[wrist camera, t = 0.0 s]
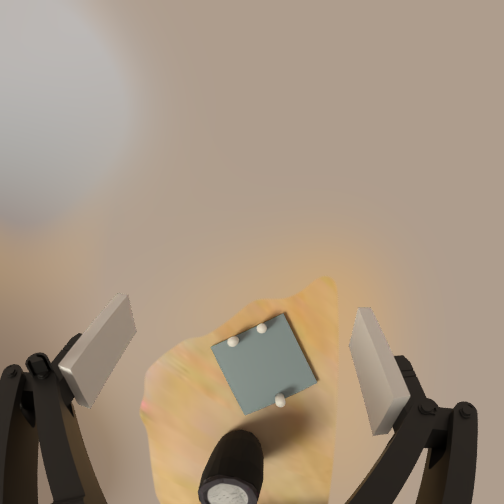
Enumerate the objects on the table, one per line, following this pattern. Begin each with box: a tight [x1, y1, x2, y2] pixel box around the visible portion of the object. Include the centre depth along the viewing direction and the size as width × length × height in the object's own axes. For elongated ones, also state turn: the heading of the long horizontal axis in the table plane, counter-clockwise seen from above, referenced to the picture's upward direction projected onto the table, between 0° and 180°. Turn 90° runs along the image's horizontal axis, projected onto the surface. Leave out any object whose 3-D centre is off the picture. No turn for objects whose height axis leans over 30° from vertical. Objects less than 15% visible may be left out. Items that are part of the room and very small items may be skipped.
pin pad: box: [211, 314, 317, 415], centre depth 46 cm, size 14×14×5 cm
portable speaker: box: [198, 430, 264, 504], centre depth 36 cm, size 9×9×20 cm
